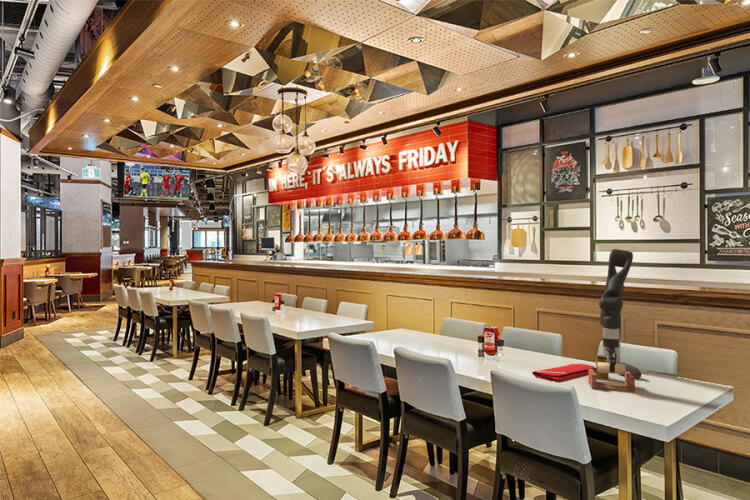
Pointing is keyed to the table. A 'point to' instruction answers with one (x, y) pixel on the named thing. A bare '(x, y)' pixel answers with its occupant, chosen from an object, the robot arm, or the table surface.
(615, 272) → the robot arm
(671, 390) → the table surface
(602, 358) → the condiment
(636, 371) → the perforated stone tool
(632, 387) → the end holder
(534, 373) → the dish drying mat
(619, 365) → the tan rounded cylinder
